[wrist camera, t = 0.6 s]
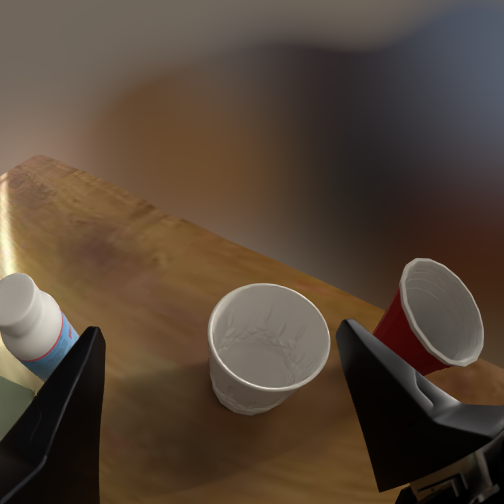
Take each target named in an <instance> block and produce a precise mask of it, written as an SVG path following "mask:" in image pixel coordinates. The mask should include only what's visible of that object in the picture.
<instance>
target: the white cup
mask: <svg viewBox="0 0 504 504" xmlns="http://www.w3.org/2000/svg"><path fill="white" fill-rule="evenodd" d="M329 351H330V334H329V330H328V327H327V324H326V322H325V320H324V318H323V316H322V314H321V313H320V312H319V310H318V309H317V308H316V307H315V306H314V304H313V303H311V302H310V301H309V300H308V299H307V298H305V297H304V296H302V295H301V294H299V293H298V292H296V291H294V290H291V289H289V288H286V287H283V286H279V285H274V284H264V283H261V284H251V285H246V286H243V287H240V288H237V289H235V290H233V291H231V292H230V293H228V294H227V295H226V296H224V297H223V298H222V299H221V300H220V301H219V302H218V304H217V305H216V306H215V308H214V309H213V311H212V313H211V316H210V319H209V323H208V353H209V367H210V376H211V380H212V388H213V391H214V392H215V394H216V396H217V398H218V400H219V401H220V403H221V404H222V405H224V406H225V407H227V408H228V409H230V410H231V411H233V412H234V413H239V414H244V415H250V416H252V415H256V414H260V413H264V412H267V411H269V410H270V409H271V408H273V407H275V406H277V405H279V404H280V403H282V402H283V401H285V400H287V399H288V398H289V397H291V396H292V395H293V394H295V393H296V392H297V391H298V390H300V389H301V388H302V387H303V386H305V385H306V384H307V383H309V382H310V381H311V380H312V379H314V378H315V377H316V376H317V375H318V374H319V372H320V371H321V370H322V368H323V367H324V365H325V363H326V361H327V359H328V356H329Z"/></svg>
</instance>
